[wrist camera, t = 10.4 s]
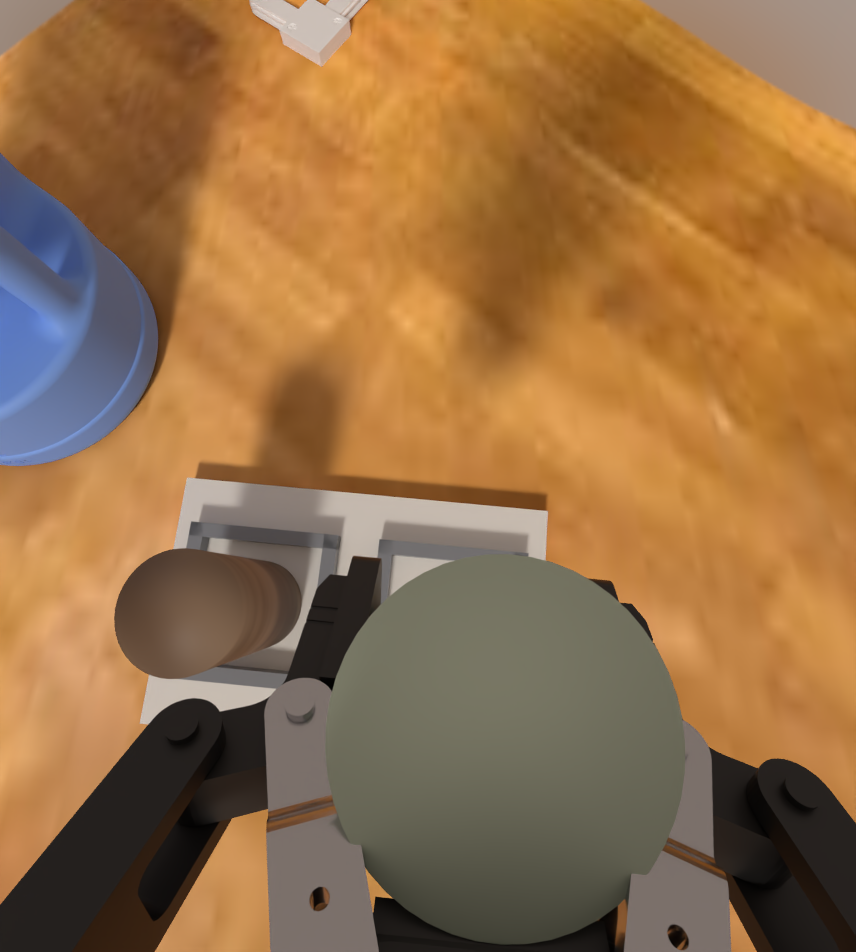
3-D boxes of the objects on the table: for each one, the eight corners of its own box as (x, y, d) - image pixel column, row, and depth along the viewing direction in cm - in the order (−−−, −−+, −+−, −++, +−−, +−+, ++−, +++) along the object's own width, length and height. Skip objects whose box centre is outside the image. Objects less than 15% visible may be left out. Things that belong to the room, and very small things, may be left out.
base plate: (544, 513, 33) (551, 508, 31) (532, 758, 30) (539, 770, 28) (194, 480, 33) (179, 474, 31) (149, 718, 30) (129, 728, 28)
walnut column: (273, 543, 31) (202, 524, 21) (317, 615, 30) (265, 628, 21) (199, 592, 31) (92, 595, 21) (243, 667, 30) (152, 706, 20)
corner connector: (305, -40, 42) (300, -64, 41) (384, 5, 42) (383, -18, 40) (242, 25, 41) (234, 3, 40) (323, 73, 40) (318, 52, 39)
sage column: (477, 544, 18) (540, 489, 8) (567, 672, 17) (760, 785, 7) (353, 631, 17) (257, 685, 7) (440, 768, 16) (462, 1036, 7)
